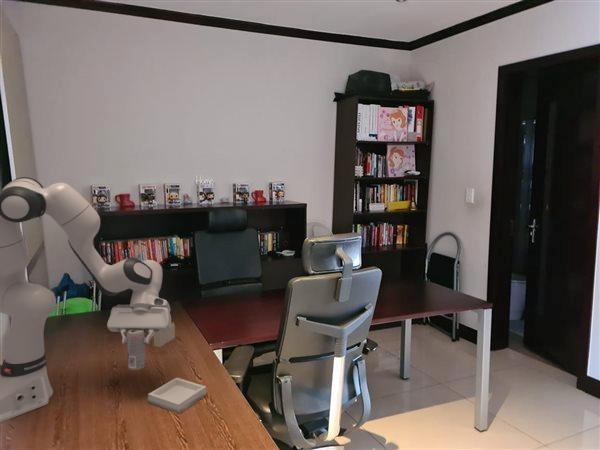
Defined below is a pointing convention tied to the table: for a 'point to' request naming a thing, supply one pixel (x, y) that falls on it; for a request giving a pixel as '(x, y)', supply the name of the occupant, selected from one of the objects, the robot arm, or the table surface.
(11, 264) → the robot arm
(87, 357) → the table surface
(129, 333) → the energy drink
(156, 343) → the model
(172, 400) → the tray
